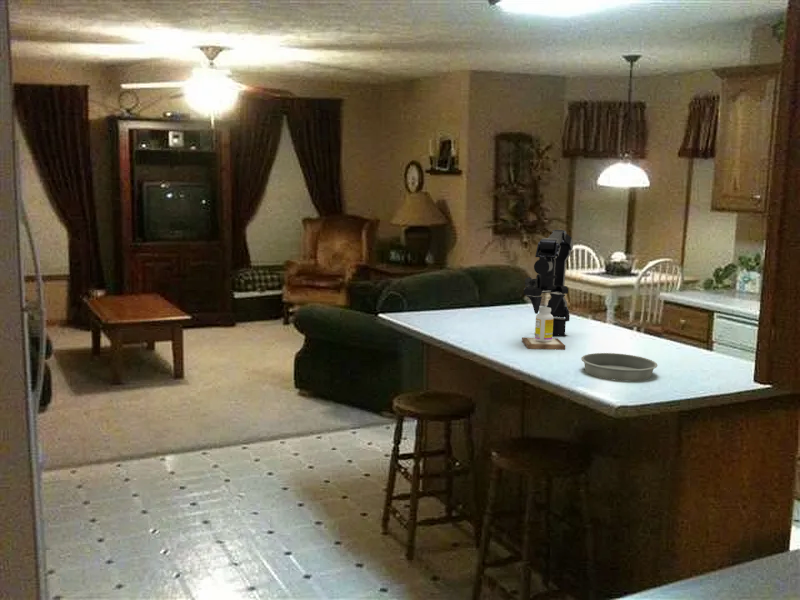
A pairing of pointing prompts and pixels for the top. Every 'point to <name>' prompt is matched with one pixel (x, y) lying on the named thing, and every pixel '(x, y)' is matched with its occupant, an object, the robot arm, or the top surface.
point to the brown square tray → (543, 344)
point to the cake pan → (618, 366)
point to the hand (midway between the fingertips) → (544, 312)
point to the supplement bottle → (544, 325)
